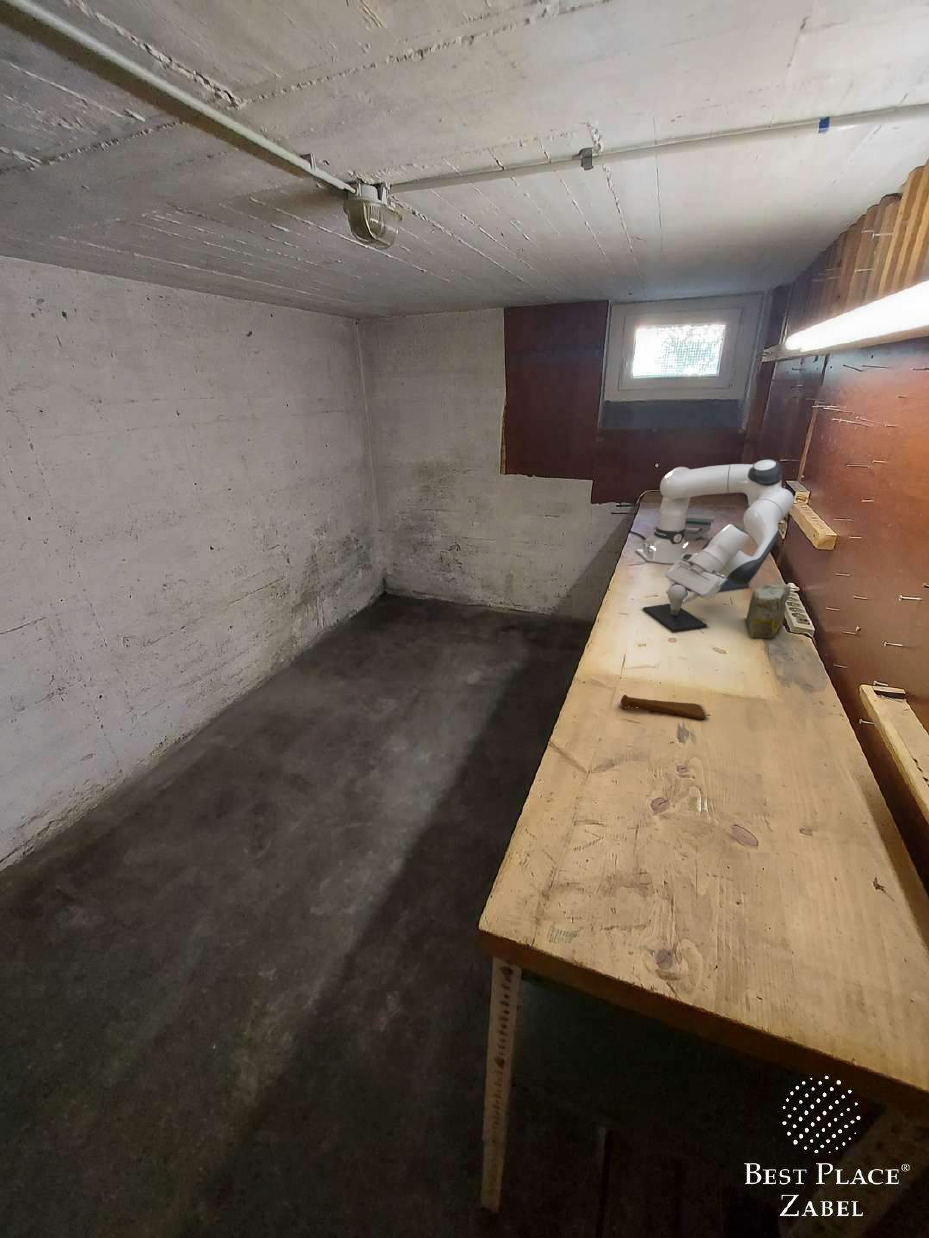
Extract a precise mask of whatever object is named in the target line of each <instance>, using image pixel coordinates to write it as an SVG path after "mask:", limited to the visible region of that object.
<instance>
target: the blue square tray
mask: <svg viewBox="0 0 929 1238" xmlns="http://www.w3.org/2000/svg"><path fill="white" fill-rule="evenodd" d="M749 586H750V583H749V584H747V585H743V586H736V585H733V584H732V583H731V582H730V581H729V580H728V579H726V582H725V583H724V584H723V585H722V586H721V588H720V590H719V591H718V592H725V591H732V590H739V589H747V588H749Z"/></svg>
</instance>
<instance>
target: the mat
mask: <svg viewBox="0 0 929 1238" xmlns="http://www.w3.org/2000/svg"><path fill="white" fill-rule="evenodd" d="M642 611H643V612H645V613H647V614H648V615H649V616H650V617H652V618H653V619H654V620H656V621H657V622H659V623H660V624H661V625H662V626H663V627H665V628H666V629H668V630H669V631H671V632H672V633H679V632H686V631H691V630H698V629H705V628H707V626H708V624H706V623H705V622H704V621H703V620H701V619H699V618H698V617H696V616H695V615H693V614H692V613H690V612H689V611H687V610H685V609H684V608H683V607H681V608H680V610H679V614H678V615H676V616H673V615H672V614H671V604H670V603H665V604H664V603H663V604H657V605H650V606H643V608H642Z"/></svg>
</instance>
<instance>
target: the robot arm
mask: <svg viewBox="0 0 929 1238" xmlns="http://www.w3.org/2000/svg"><path fill="white" fill-rule="evenodd" d="M782 479H783V470H782V466H781V464H780V462H779V461H777V460H775V459H772V458H765V459H760V460H757V461H755V462H753V463H752V464H750V463H749V464H748V463H733V464H731V463H730V464H720V465H710V466H709V465H708V466H705V467H698V468H691V469H690V468H688V467H686V466H678V467H675V468H673V469H671V470H670V471H669V472H668V473H667V474H665V475H664V476H663V477H662V479H661V480H660V484H659V491H660V494H661V496H663V497H662V500H661V504H660V508H659V512H658V519H657V526H653V529H654V532H653V534H652V535H650V536H649V537H647V538H646V537H645V536H644V535H642V534H640V533H638V532H635V531H632V530H630V526H627V531H628V532H629V533H631V534H634V535H637V536H639V537H641V538H642V539H644V540H643V545H642V547H640V548H637V549H636V552H637V554H639V555H640V556H641V557H642V558H643V559H645V561H647V562H652V563H660V564H669V565H671V564H672V565H671V566H670V567H669V568H668V569H667V570H666V571H665V573H664V575H665V576H664V577H665V578H666V579H667V580H668V581H669V582H670V583H669V586H668V589H667V590H666V591H665V594H666V595H667V596H668V590H669V589H670V588H671V587H672V586H674V585H682V586H684V587H685V588H686V589H687V592H688V593H689V592H690V593H689V594H688V596H687V597H683V598H682V599H681V600H680V601H681V602H682V605H687V604H688V603H689V602H692V601H694V600H696V599H697V598H701V599H703V600H705V601H706V602H709V601H711V600H713V599H714V598H715V596H716V595H717V594H718V592H720V591H719V590H720V588H721V586H722V585H723V584H724V583H725V582H726V580H729V581H730V582H731V583H732V584H733V585H736V586H743V585H747V584H749V585H750V583H752V582H753V581H754V580H755V579H756V577H757V576H758V574H759V572H760V570H761V567H762V565H763V564H764V562H765V561H766V559H767V557H768V556H769V554H770V553H771V551H772V550H773V549H774V547H775V544H776V543H777V541H778V539H779V538H780V535H781V532H780V530H779V523H780V522H782V520H784V519H785V518H786V516H787V515H788V513H789V512H790V511H791V509H792V507H793V506H794V504H795V497H794V495H793V493H792V492H791V491H790V490H788V489H787V488H784V487H783V486H782V483H783V481H782ZM735 493H736V494H738V493H741V494H745V495H746V496H747V497H746V498H745V503H746V506H747V508H746V510H745V511H744V514H743V517H742V521H743V526H744V528H745V530H744V529H743V528H742V527H740V526H738V525H736V524H733V523H729V524H727V525H726V526H725V527H724V528H722V529H721V530H720V531H719V532H718V533H717V534H716V535H715V536H713V537H711V538H710V539H709V540H707V542H706V543H705V544H704V545H703V546H702V548H701V550H700V552H699V553H685V550H686V547H687V546H688V544H689V542H686V539H684V536H685V529H686V527H685V522H686V516H687V514H688V510H689V506H690V502H691V498H694V497H700V496H707V495H722V494H735ZM749 535H750V536H751V538H752V539H753V540H754V541H755V543H756V546H757V547H756V549H755V551H754V552H753V554H752V555H748V554H746V553H745V552H744V551H742V549H743V547H744V546H745V544H746V543H747V542H748V540H749V539H750V536H749Z"/></svg>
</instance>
